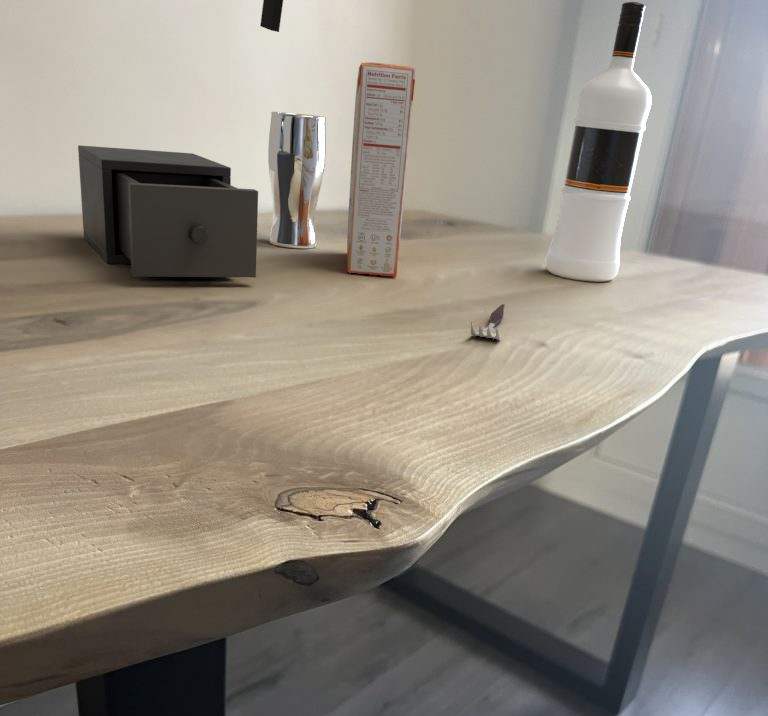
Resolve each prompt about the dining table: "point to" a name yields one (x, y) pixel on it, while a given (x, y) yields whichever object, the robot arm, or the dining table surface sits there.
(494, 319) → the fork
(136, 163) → the small drawer box
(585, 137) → the vodka
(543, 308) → the dining table surface
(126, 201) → the grey knobbed drawer
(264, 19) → the robot arm
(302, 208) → the beer glass
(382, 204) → the cracker box
